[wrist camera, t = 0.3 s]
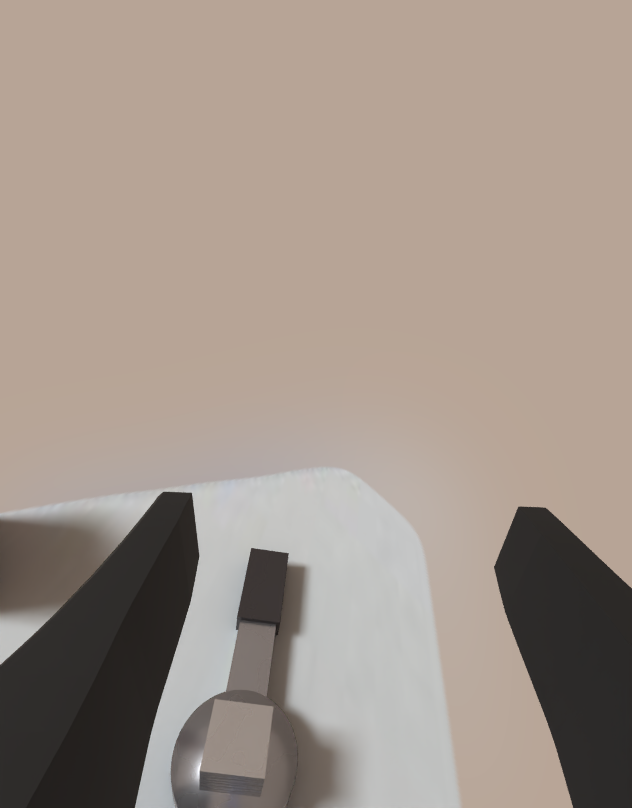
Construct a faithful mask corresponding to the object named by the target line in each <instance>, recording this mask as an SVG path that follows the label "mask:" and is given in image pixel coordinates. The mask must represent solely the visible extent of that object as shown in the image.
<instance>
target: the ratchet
mask: <svg viewBox="0 0 632 808" xmlns="http://www.w3.org/2000/svg"><path fill="white" fill-rule="evenodd" d="M288 554H289V553H282V552H275V551H268V550H261V549H254V548H251V552H250V557H249V562H248V567H247V572H246V577H245V582H244V587H243V591H242V596H241V601H240V606H239V611H238V616H237V626H236V630H238V634H237V639H236V644H235V649H234V654H233V659H232V664H231V670H230V675H229V680H228V685H227V690H226V692H223V693H220V694H218V695H216V696H214V697H212V698H210V699H209V700H207V701H206V702H204V703H203V704H202V705H201V706H199V707H198V708H197V709H196V710H195V711H194V712H193V714H192V715H191V716H190V717H189V719H188V720H187V721H186V723H185V724H184V726H183V728H182V730H181V731H180V734H179V736H178V738H177V741H176V744H175V747H174V751H173V756H172V763H171V783H172V792H173V799H174V804H175V807H176V808H285V807H286V805H287V802H288V800H289V797H290V794H291V791H292V788H293V786H294V782H295V778H296V773H297V765H298V752H297V744H296V739H295V735H294V732H293V729H292V726H291V724H290V722H289V720H288V718H287V717H286V715H285V713H284V712H283V711H282V710H281V708H280V707H279V706H278V705H277V704H276V703H275V702H273V701H272V700H271V699H269V698H268V697H267V691H268V683H269V676H270V668H271V660H272V653H273V645H274V637H275V635H278V630H279V625H280V618H281V610H282V602H283V594H284V586H285V578H286V570H287V562H288Z"/></svg>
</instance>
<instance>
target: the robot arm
mask: <svg viewBox="0 0 632 808" xmlns="http://www.w3.org/2000/svg"><path fill="white" fill-rule="evenodd" d="M198 560H199V550H198V541H197V533H196V524H195V515H194V507H193V498H192V493H181V492H163V493H162V494H160V495H159V496H158V498H157V499H156V500H155V501H154V503H153V504H152V505H151V506H150V508H149V509H148V510H147V512H146V513H145V514H144V515H143V517H142V518H141V519H140V520H139V522H138V523H137V524H136V525H135V526H134V528H133V529H132V530H131V531H130V532H129V534H128V535H127V536H126V537H125V538H124V540H123V541H122V542H121V543H120V544H119V545H118V547H117V548H116V549H115V550H114V551H113V552H112V553H111V555H110V556H109V557H108V558H107V559H106V560H105V561H104V562H103V564H102V565H101V566H100V567H99V568H98V569H97V570H96V572H95V573H94V574H93V575H92V576H91V577H90V578H89V579H88V580H87V581H86V582H85V583H84V584H83V585H82V586H81V587H80V589H79V590H78V591H77V592H76V593H75V594H74V595H73V596H72V597H71V598H70V599H69V600H68V601H67V602H66V603H65V604H64V605H63V606H62V607H61V608H60V609H59V610H58V611H57V612H56V613H55V614H54V615H53V616H52V617H51V618H50V619H49V620H48V621H47V622H46V623H45V624H44V625H43V626H42V627H41V628H40V629H39V630H38V631H37V632H36V633H35V634H34V635H33V636H32V637H30V638H29V639H28V640H27V641H26V642H25V643H24V644H23V645H22V646H21V647H20V648H19V649H17V650H16V651H15V652H14V653H13V654H12V655H11V656H10V657H9V658H8V659H6V660H5V661H4V662H3V663H2V664H1V665H0V808H135V804H136V799H137V795H138V790H139V785H140V781H141V776H142V772H143V767H144V762H145V758H146V753H147V749H148V744H149V740H150V735H151V731H152V728H153V724H154V720H155V717H156V713H157V709H158V706H159V703H160V699H161V696H162V693H163V690H164V686H165V683H166V680H167V677H168V674H169V670H170V667H171V664H172V661H173V657H174V654H175V651H176V648H177V645H178V641H179V638H180V635H181V631H182V628H183V625H184V622H185V618H186V615H187V612H188V608H189V605H190V602H191V597H192V592H193V587H194V582H195V576H196V571H197V566H198ZM494 569H495V573H496V577H497V581H498V586H499V589H500V593H501V598H502V601H503V605H504V609H505V613H506V615H507V618H508V621H509V624H510V626H511V629H512V631H513V634H514V637H515V639H516V642H517V645H518V647H519V650H520V653H521V655H522V658H523V660H524V663H525V666H526V668H527V671H528V673H529V676H530V678H531V681H532V684H533V686H534V689H535V691H536V694H537V696H538V699H539V702H540V704H541V707H542V709H543V712H544V715H545V717H546V720H547V723H548V726H549V728H550V731H551V734H552V737H553V740H554V743H555V746H556V749H557V752H558V756H559V760H560V763H561V766H562V770H563V773H564V777H565V780H566V784H567V787H568V791H569V794H570V798H571V801H572V805H573V808H632V588H631V587H629V586H628V585H627V584H626V583H625V582H624V581H623V580H622V579H621V578H620V577H619V576H617V575H616V574H615V573H614V572H613V571H612V570H611V569H610V568H609V567H608V566H607V565H606V564H605V563H604V562H603V561H602V560H601V559H599V558H598V557H597V556H596V555H595V554H594V553H593V552H592V551H591V550H590V549H589V548H588V547H587V546H586V545H585V544H584V543H583V542H582V541H581V540H580V539H579V538H577V536H575V535H574V534H573V533H572V532H571V531H570V530H569V529H568V528H567V527H566V526H565V525H564V524H563V523H562V522H561V521H559V519H557V518H556V517H555V516H554V515H553V514H552V513H551V512H550V511H549V510H548V509H546V508H540V507H518V509H517V512H516V514H515V517H514V519H513V521H512V524H511V526H510V529H509V531H508V534H507V537H506V539H505V541H504V544H503V547H502V549H501V551H500V554H499V557H498V559H497V561H496V564H495V566H494Z"/></svg>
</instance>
